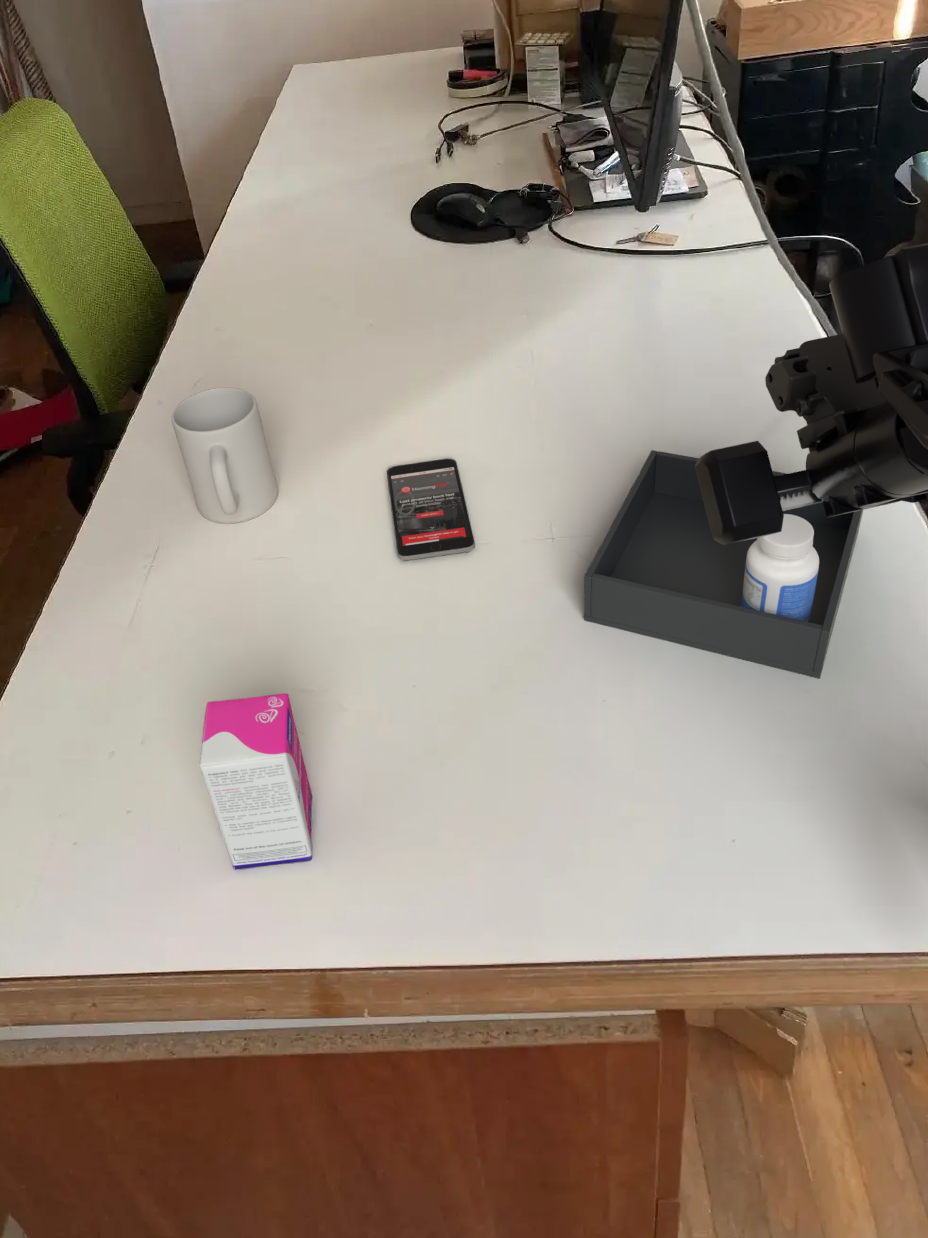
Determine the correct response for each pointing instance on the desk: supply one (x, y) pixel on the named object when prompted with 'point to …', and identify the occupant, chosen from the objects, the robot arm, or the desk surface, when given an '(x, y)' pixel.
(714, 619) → the dark grey storage tray
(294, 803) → the supplement box
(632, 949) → the desk surface
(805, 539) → the pill bottle
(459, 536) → the smartphone
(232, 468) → the mug
